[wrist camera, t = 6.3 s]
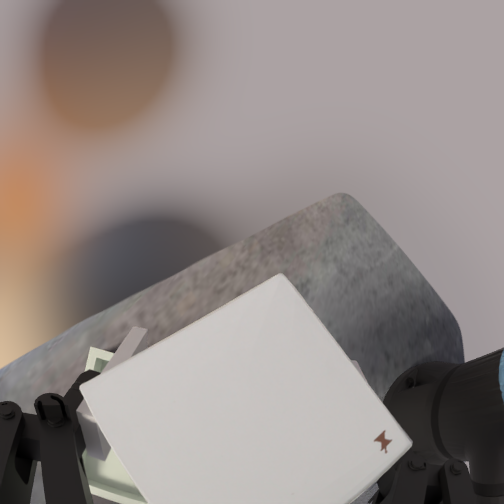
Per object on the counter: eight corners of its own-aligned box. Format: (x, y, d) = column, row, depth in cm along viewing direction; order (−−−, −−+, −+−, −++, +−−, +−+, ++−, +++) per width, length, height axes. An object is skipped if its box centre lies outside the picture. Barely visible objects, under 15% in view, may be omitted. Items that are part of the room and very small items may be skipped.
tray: (213, 377, 33) (212, 374, 31) (194, 512, 25) (192, 520, 22) (99, 352, 33) (90, 346, 30) (78, 480, 24) (67, 483, 22)
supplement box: (245, 349, 21) (289, 261, 10) (307, 436, 18) (424, 445, 7) (151, 403, 18) (70, 380, 7) (213, 494, 15) (220, 589, 4)
